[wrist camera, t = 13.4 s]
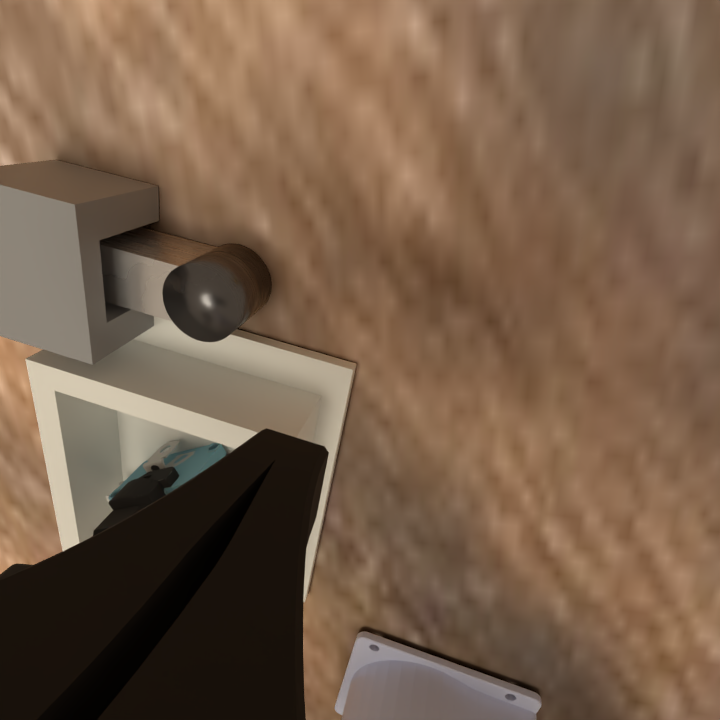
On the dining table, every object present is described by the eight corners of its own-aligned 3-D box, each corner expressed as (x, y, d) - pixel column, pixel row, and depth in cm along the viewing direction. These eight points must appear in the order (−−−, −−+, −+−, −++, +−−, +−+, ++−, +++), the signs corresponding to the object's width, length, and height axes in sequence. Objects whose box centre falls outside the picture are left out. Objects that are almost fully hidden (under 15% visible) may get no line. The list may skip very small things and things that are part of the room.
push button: (159, 520, 24) (-28, 749, 15) (98, 435, 22) (-152, 641, 14) (267, 502, 21) (116, 763, 13) (208, 404, 20) (-13, 633, 11)
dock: (382, 243, 15) (352, 278, 12) (308, 593, 25) (279, 667, 21) (56, 160, 17) (-49, 171, 14) (101, 520, 26) (45, 579, 23)
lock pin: (274, 253, 16) (240, 276, 14) (268, 321, 18) (235, 351, 16) (58, 196, 17) (-6, 209, 15) (66, 263, 19) (9, 284, 17)
